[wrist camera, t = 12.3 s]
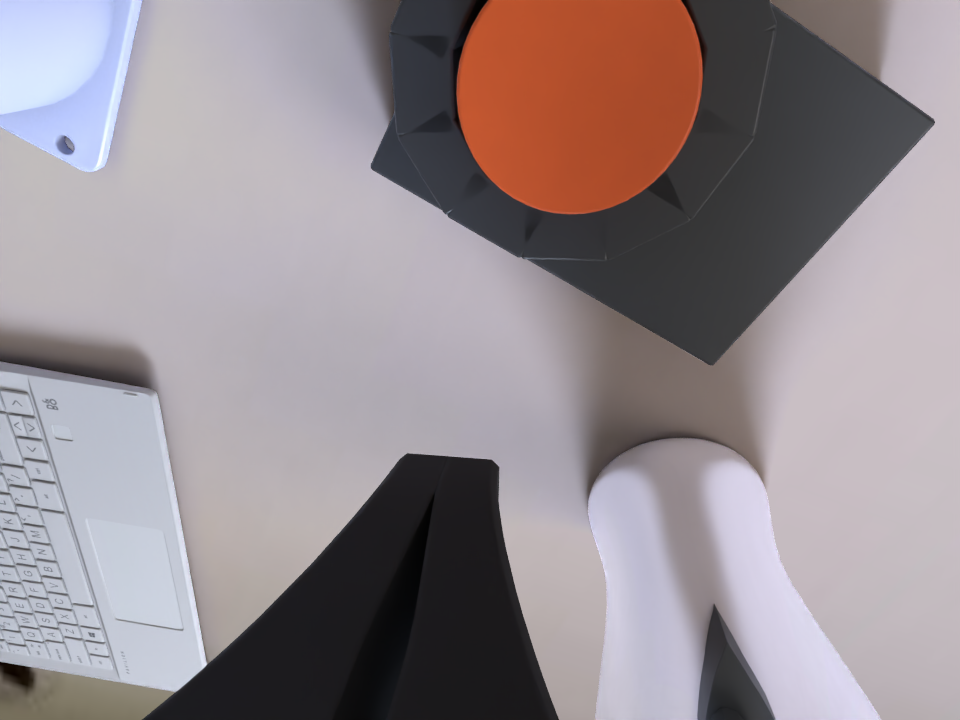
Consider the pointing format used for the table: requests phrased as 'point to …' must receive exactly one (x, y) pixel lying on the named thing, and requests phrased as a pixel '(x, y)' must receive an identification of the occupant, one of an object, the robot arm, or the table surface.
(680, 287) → the button housing
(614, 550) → the silver metal cup
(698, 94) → the orange button
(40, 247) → the table surface
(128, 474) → the laptop
